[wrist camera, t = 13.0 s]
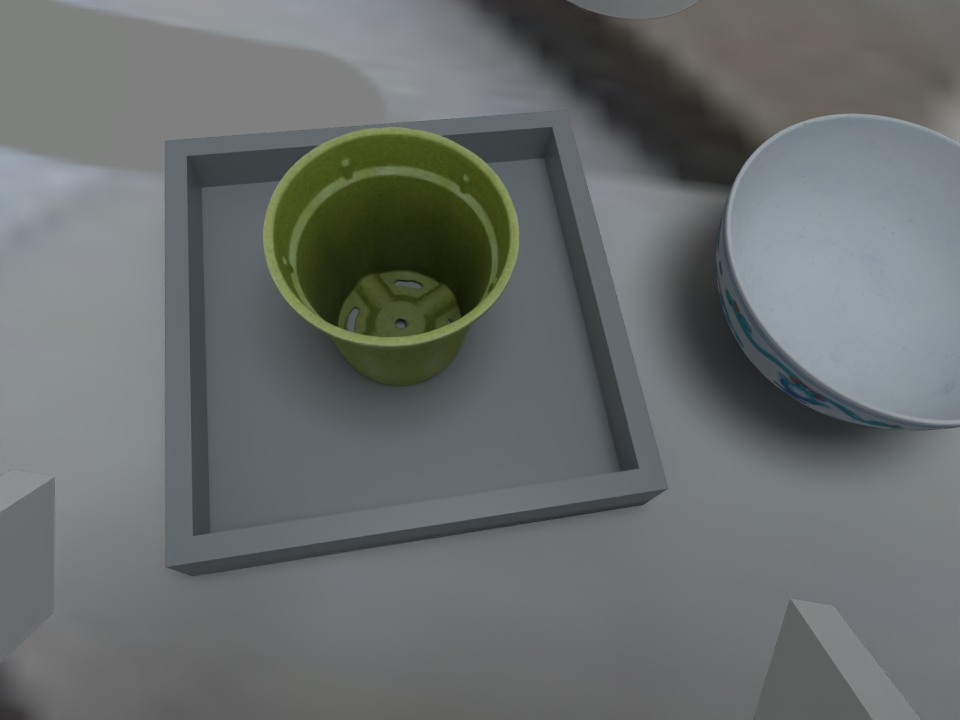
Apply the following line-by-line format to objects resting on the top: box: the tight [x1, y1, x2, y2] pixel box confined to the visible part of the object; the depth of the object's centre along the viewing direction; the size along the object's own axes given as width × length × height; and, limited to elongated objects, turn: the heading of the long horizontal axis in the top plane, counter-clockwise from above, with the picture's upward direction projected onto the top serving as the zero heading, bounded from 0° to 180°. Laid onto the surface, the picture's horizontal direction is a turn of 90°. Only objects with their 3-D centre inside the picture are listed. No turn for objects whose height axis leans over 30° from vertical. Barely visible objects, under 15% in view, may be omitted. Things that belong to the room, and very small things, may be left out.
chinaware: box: [716, 114, 960, 430], centre depth 33 cm, size 15×15×8 cm
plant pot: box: [263, 127, 519, 386], centre depth 30 cm, size 9×9×9 cm
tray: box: [165, 110, 668, 576], centre depth 33 cm, size 20×20×4 cm
